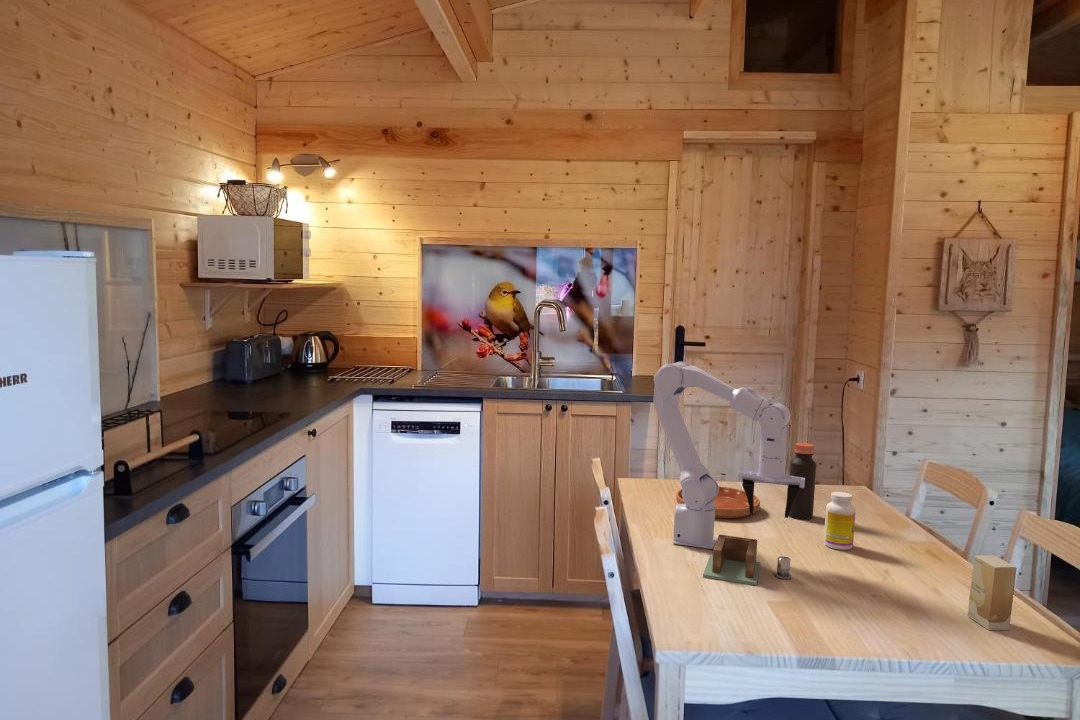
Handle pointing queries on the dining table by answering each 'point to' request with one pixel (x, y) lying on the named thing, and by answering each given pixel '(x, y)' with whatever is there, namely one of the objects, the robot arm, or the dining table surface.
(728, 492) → the saucer
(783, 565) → the metal door knob
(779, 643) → the dining table surface
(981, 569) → the skincare box
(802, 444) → the vinegar
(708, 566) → the green rubber mat
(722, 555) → the walnut C-link
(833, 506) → the supplement bottle
